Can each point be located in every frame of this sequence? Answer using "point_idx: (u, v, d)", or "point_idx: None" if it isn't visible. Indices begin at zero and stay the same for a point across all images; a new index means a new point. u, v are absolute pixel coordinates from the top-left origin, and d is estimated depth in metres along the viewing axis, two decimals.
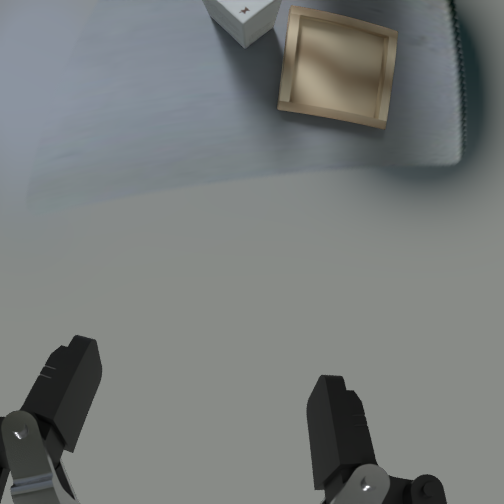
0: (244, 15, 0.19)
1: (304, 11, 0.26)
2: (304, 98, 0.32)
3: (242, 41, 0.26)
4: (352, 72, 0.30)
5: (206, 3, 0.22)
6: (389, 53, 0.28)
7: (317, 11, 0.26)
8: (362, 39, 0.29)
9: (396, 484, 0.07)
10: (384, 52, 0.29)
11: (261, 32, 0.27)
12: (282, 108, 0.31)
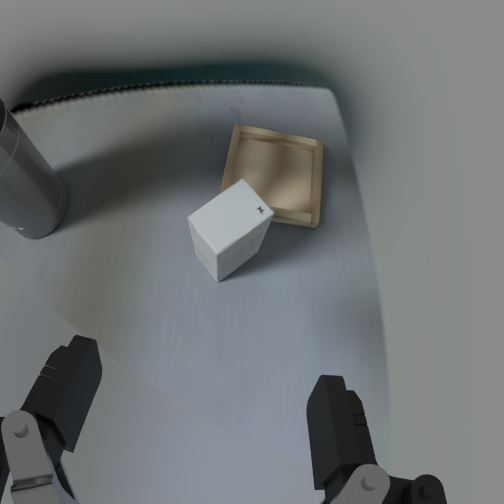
0: (265, 210, 0.27)
1: None
2: (304, 204, 0.40)
3: (260, 243, 0.34)
4: (275, 164, 0.41)
5: (224, 265, 0.31)
6: (256, 132, 0.40)
7: (222, 184, 0.38)
8: (244, 153, 0.41)
9: (396, 484, 0.07)
10: (254, 137, 0.41)
11: None
12: (317, 219, 0.38)
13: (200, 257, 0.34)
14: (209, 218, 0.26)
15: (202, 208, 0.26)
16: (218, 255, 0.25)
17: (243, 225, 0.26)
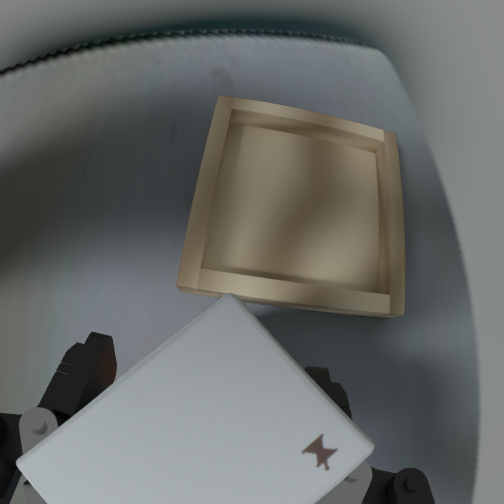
0: (343, 449, 0.05)
1: (191, 258, 0.16)
2: (369, 267, 0.18)
3: None
4: (307, 180, 0.19)
5: None
6: (265, 111, 0.19)
7: (190, 231, 0.16)
8: (239, 156, 0.19)
9: (380, 477, 0.07)
10: (261, 122, 0.19)
11: None
12: (401, 307, 0.16)
13: None
14: (91, 491, 0.04)
15: (55, 442, 0.04)
16: None
17: None
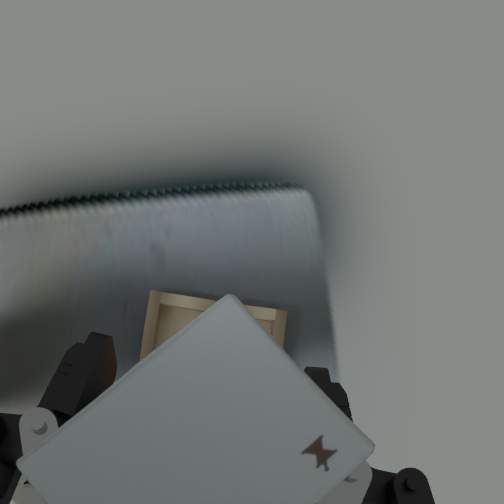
0: (342, 450, 0.05)
1: None
2: None
3: None
4: None
5: None
6: (183, 304, 0.27)
7: None
8: (168, 334, 0.28)
9: (379, 477, 0.07)
10: (182, 308, 0.28)
11: None
12: None
13: None
14: (91, 492, 0.04)
15: (55, 442, 0.04)
16: None
17: None
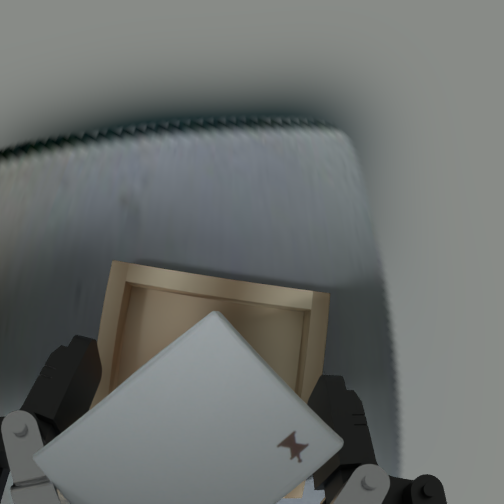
0: (313, 444, 0.06)
1: None
2: None
3: None
4: None
5: None
6: (163, 283, 0.17)
7: None
8: (140, 332, 0.17)
9: (396, 484, 0.07)
10: (162, 290, 0.17)
11: None
12: (299, 492, 0.14)
13: None
14: (99, 480, 0.05)
15: (68, 437, 0.05)
16: None
17: None
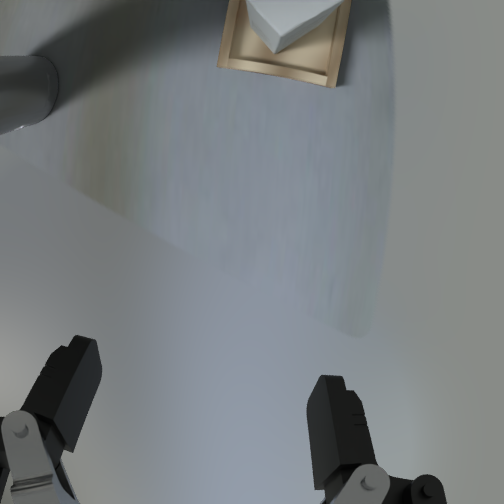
0: None
1: (223, 53, 0.28)
2: (321, 60, 0.29)
3: (323, 20, 0.24)
4: None
5: (285, 42, 0.23)
6: None
7: (223, 41, 0.27)
8: None
9: (396, 484, 0.07)
10: None
11: None
12: (333, 84, 0.29)
13: (256, 30, 0.26)
14: None
15: None
16: (282, 36, 0.19)
17: (311, 7, 0.17)
